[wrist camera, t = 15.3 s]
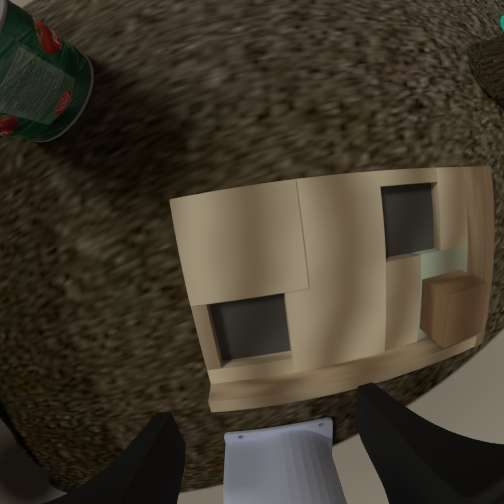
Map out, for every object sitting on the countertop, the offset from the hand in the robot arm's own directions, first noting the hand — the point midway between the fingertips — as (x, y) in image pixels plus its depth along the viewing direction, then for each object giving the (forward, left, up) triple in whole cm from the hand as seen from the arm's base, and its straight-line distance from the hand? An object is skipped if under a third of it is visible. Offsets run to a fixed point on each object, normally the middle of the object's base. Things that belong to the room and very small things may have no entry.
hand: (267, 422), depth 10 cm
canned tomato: (-13, +19, -11) cm, 25 cm away
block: (+14, -1, -9) cm, 17 cm away
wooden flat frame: (+7, +2, -10) cm, 12 cm away
